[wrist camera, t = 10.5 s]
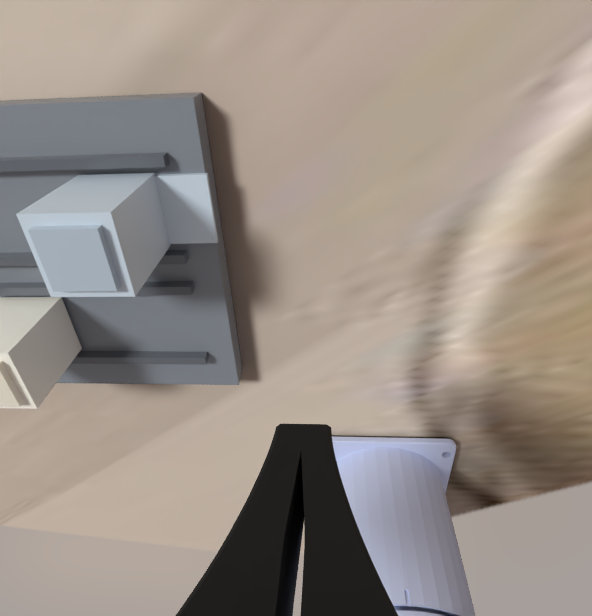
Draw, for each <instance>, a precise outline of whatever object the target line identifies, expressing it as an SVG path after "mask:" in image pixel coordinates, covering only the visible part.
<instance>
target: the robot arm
mask: <svg viewBox="0 0 592 616" xmlns="http://www.w3.org/2000/svg"><path fill="white" fill-rule="evenodd" d="M455 453H456V444H455V442H454V441H453V440H451V439H441V438H387V437H334V436H332V434H331V427H329V426H328V425H321V424H280V425H278V426H277V427H276V431H275V434H274V438H273V440H272V443H271V446H270V449H269V452H268V454H267V457H266V459H265V462H264V464H263V467H262V469H261V471H260V473H259V476H258V478H257V480H256V482H255V484H254V486H253V488H252V491H251V493H250V495H249V497H248V499H247V501H246V503H245V505H244V507H243V509H242V510H241V512H240V514H239V516H238V518H237V520H236V522H235V523H234V525H233V527H232V529H231V531H230V533H229V534H228V536H227V538H226V540H225V541H224V543H223V545H222V546H221V548H220V550H219V551H218V553H217V555H216V557H215V558H214V560H213V561H212V563H211V564H210V566H209V567H208V569H207V571H206V573H205V574H204V575H203V577H202V578H201V580H200V581H199V583H198V584H197V586H196V587H195V589H194V590H193V592H192V593H191V594H190V596H189V597H188V599H187V600H186V602H185V603H184V605H183V606H182V608H181V609H180V610H179V612H178V613H177V615H176V616H292V615H293V614H292V613H293V603H294V595H295V587H296V579H297V571H298V563H299V555H300V547H301V539H302V531H303V523H304V524H305V551H304V569H303V587H302V603H301V616H475V612H474V608H473V604H472V600H471V596H470V592H469V588H468V584H467V580H466V576H465V572H464V568H463V564H462V559H461V555H460V552H459V547H458V543H457V539H456V535H455V531H454V527H453V523H452V519H451V515H450V511H449V507H448V503H447V499H446V495H445V493H446V489H447V485H448V481H449V477H450V473H451V469H452V465H453V461H454V457H455Z"/></svg>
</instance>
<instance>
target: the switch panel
mask: <svg viewBox="0 0 592 616" xmlns="http://www.w3.org/2000/svg"><path fill="white" fill-rule="evenodd" d="M135 173H155V180H156V184H157V189H158V193H159V198H160V202H161V207H162V211H163V216H164V220H165V225H166V229H167V234H168V238H169V243H170V245H171V246H170V247H169V249H168V250H167V251H166V253H165V254H164V256H163V257H162V259H161V260H160V262H159V263H158V264H157V266H156V267H155V269H154V270H153V272H152V273H151V275H150V276H149V277H148V279H147V280H146V282H145V283H144V285H143V286H142V288H141V289H140V291H139V292H138V293H137V295H136V296H135V297H62V300H63V302H64V305H65V307H66V310H67V312H68V315H69V317H70V320H71V322H72V325H73V327H74V330H75V332H76V335H77V337H78V340H79V342H80V344H81V347H82V349H81V350H80V352H79V353H78V354H77V356H76V357H75V358H74V360H73V361H72V362H71V364H70V365H69V367H68V368H67V369H66V371H65V372H64V373H63V375H62V376H61V377H60V379H59V380H58V381H57V383H110V384H210V385H239V382H240V378H241V373H242V362H241V356H240V349H239V342H238V335H237V329H236V322H235V315H234V308H233V302H232V295H231V288H230V281H229V275H228V268H227V261H226V254H225V247H224V241H223V234H222V227H221V220H220V214H219V207H218V200H217V193H216V187H215V180H214V173H213V166H212V160H211V153H210V146H209V139H208V133H207V126H206V119H205V112H204V106H203V99H202V93H181V94H156V95H132V96H107V97H83V98H58V99H34V100H9V101H0V297H51V296H50V294H49V292H48V289H47V287H46V284H45V282H44V280H43V277H42V275H41V272H40V270H39V268H38V265H37V263H36V261H35V258H34V256H33V253H32V251H31V249H30V246H29V244H28V241H27V239H26V237H25V234H24V232H23V230H22V227H21V225H20V222H19V220H18V218H17V215H16V214H17V213H19V212H20V211H22V210H23V209H25V208H27V207H28V206H30V205H31V204H33V203H35V202H36V201H38V200H39V199H41V198H43V197H44V196H46V195H47V194H49V193H50V192H52V191H54V190H55V189H57V188H58V187H60V186H62V185H63V184H65V183H66V182H68V181H70V180H71V179H73V178H74V177H76V176H77V175H98V174H135Z"/></svg>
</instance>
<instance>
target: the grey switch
mask: <svg viewBox="0 0 592 616" xmlns="http://www.w3.org/2000/svg"><path fill="white" fill-rule="evenodd" d="M16 215H17V218H18V220H19V222H20V225H21V227H22V230H23V232H24V234H25V237H26V239H27V241H28V244H29V246H30V249H31V251H32V253H33V256H34V258H35V261H36V263H37V265H38V268H39V270H40V272H41V275H42V277H43V280H44V282H45V284H46V287H47V289H48V292H49V294H50V296H51V297H135V296H136V295H137V293H138V292H139V291H140V289H141V288H142V286H143V285H144V283H145V282H146V280H147V279H148V277H149V276H150V275H151V273H152V272H153V270H154V269H155V267H156V266H157V264H158V263H159V262H160V260H161V259H162V257H163V256H164V254H165V253H166V251H167V250H168V249H169V247H170V246H171V245H170V243H169V238H168V234H167V229H166V225H165V220H164V216H163V211H162V207H161V202H160V198H159V193H158V189H157V184H156V180H155V173H135V174H98V175H77V176H76V177H74V178H73V179H71V180H70V181H68V182H66V183H65V184H63V185H62V186H60V187H58V188H57V189H55V190H54V191H52V192H50V193H49V194H47V195H46V196H44V197H43V198H41V199H39V200H38V201H36V202H35V203H33V204H31V205H30V206H28V207H27V208H25V209H23V210H22V211H20V212H19V213H17V214H16Z"/></svg>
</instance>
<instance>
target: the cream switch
mask: <svg viewBox="0 0 592 616" xmlns="http://www.w3.org/2000/svg"><path fill="white" fill-rule="evenodd" d="M81 349H82V347H81V344H80V342H79V340H78V337H77V335H76V332H75V330H74V327H73V325H72V322H71V320H70V317H69V315H68V312H67V310H66V307H65V305H64V302H63V300H62V297H0V408H34V409H37V408H38V407H39V406H40V404H41V403H42V401H43V400H44V399H45V397H46V396H47V395H48V393H49V392H50V391H51V389H52V388H53V387H54V385H55V384H56V383H57V381H58V380H59V379H60V377H61V376H62V375H63V373H64V372H65V371H66V369H67V368H68V367H69V365H70V364H71V362H72V361H73V360H74V358H75V357H76V356H77V354H78V353H79V352H80V350H81Z"/></svg>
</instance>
